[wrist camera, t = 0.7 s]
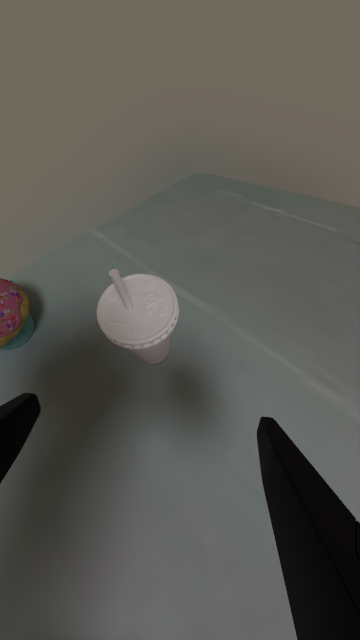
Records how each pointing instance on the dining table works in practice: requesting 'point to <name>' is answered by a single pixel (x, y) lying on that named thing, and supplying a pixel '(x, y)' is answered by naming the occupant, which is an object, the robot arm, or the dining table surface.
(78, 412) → the dining table surface
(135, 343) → the smoothie
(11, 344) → the cupcake
